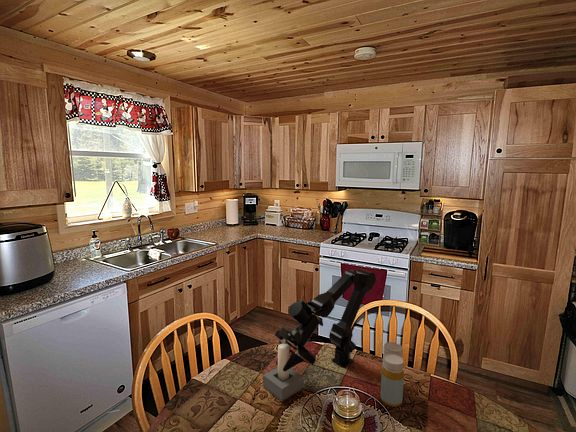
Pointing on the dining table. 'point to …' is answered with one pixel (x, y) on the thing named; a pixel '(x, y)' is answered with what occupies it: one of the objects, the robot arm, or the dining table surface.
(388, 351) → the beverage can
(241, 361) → the dining table surface
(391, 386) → the bottle
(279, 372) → the peg
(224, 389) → the dining table surface
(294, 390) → the hole block
